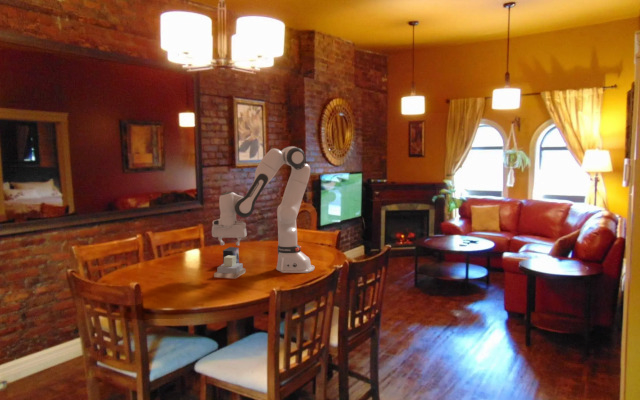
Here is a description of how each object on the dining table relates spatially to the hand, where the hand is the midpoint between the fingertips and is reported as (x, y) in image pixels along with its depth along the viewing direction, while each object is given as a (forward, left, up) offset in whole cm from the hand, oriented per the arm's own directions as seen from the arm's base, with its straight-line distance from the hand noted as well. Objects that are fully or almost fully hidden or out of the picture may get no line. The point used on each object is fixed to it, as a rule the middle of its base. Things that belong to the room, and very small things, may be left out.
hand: (230, 245), depth 257 cm
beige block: (+1, 0, -12) cm, 12 cm away
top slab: (0, 0, -15) cm, 15 cm away
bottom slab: (0, 0, -18) cm, 18 cm away
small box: (+9, -19, -17) cm, 27 cm away
